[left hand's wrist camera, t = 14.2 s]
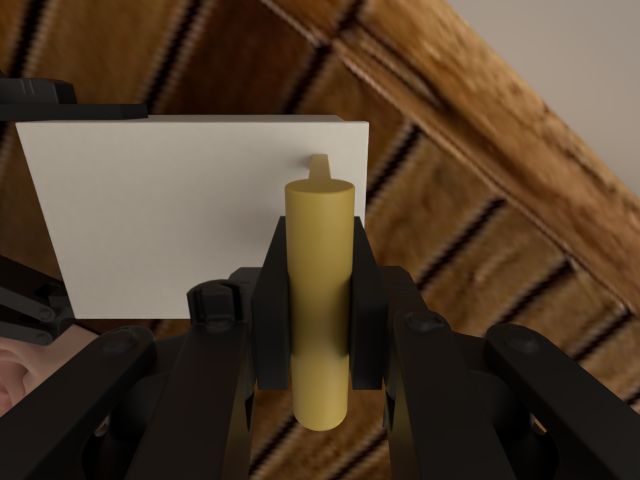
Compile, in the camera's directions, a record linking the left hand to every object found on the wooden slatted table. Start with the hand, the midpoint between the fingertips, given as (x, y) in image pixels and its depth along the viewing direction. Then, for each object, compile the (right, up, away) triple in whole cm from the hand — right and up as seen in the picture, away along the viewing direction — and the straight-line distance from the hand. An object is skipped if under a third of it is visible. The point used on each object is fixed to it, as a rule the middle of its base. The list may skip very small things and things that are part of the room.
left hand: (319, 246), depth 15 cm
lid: (-5, +1, +3) cm, 6 cm away
